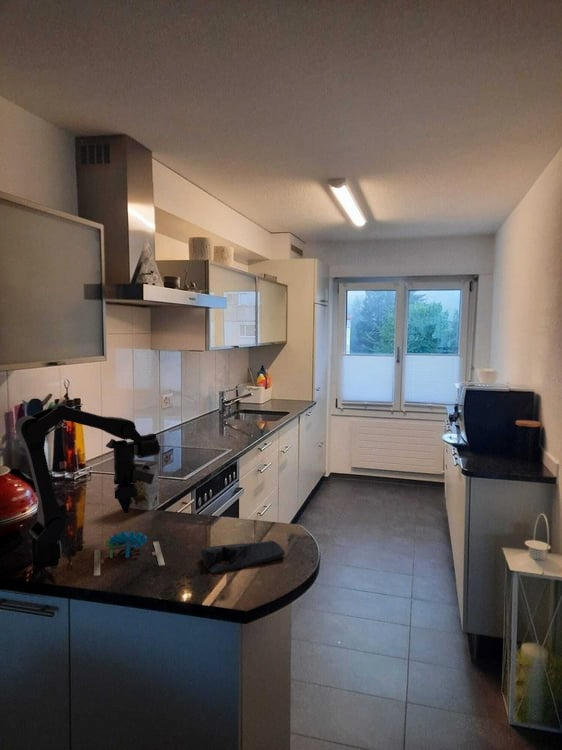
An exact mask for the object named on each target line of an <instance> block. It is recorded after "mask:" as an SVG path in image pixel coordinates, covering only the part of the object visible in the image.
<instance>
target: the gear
mask: <svg viewBox="0 0 562 750" xmlns="http://www.w3.org/2000/svg"><path fill="white" fill-rule="evenodd" d="M147 539H148V536H147V535H145V534H144V535H143V532H137V534H136V532H135V530H132V531H131V530H130V531H129V533H127V531H125V530H124V531H121V532H120V534H119V533H114V534H113V536H110V538H109V540H106V541H105V547H107V548H108V550H109V559H113V558H114V557H113V556H114V554H113V553H114V551H119V550H125V559H130V551H131V549H136V548H137V547H139V548H140V547H143V544H147Z"/></svg>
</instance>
